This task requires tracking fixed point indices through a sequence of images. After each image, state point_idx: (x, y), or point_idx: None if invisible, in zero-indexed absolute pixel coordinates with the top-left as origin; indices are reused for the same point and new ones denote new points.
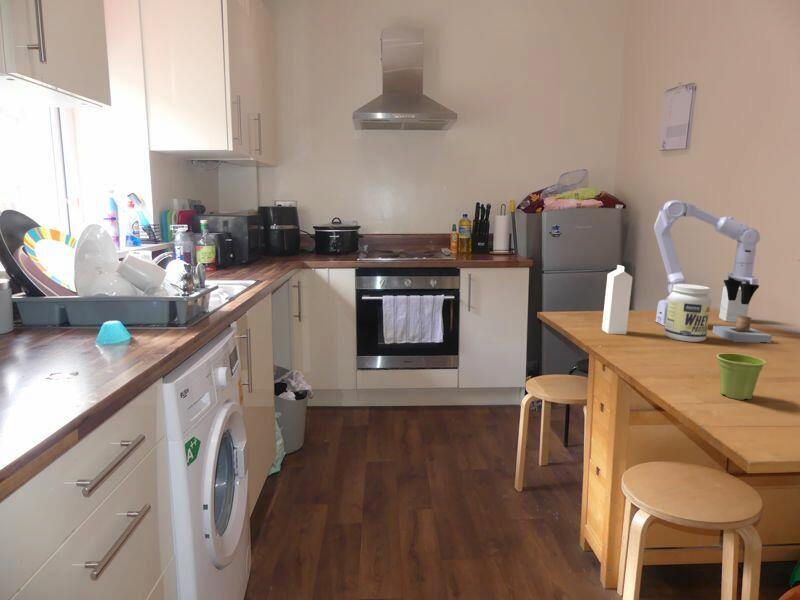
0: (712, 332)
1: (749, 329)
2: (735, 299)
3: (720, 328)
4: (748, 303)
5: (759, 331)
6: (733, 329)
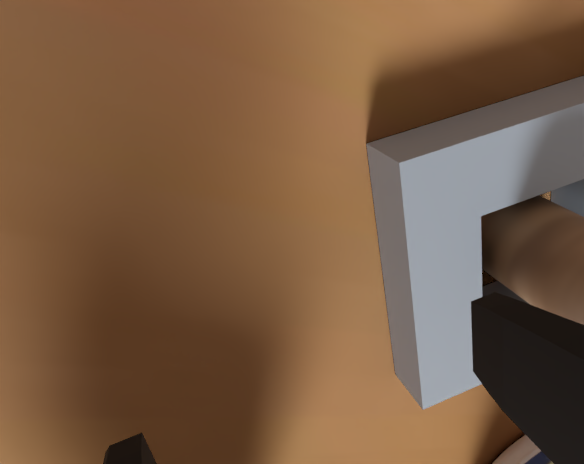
0: (397, 376)
1: (582, 216)
2: (141, 444)
3: None
4: (511, 301)
5: (554, 122)
6: (477, 291)
